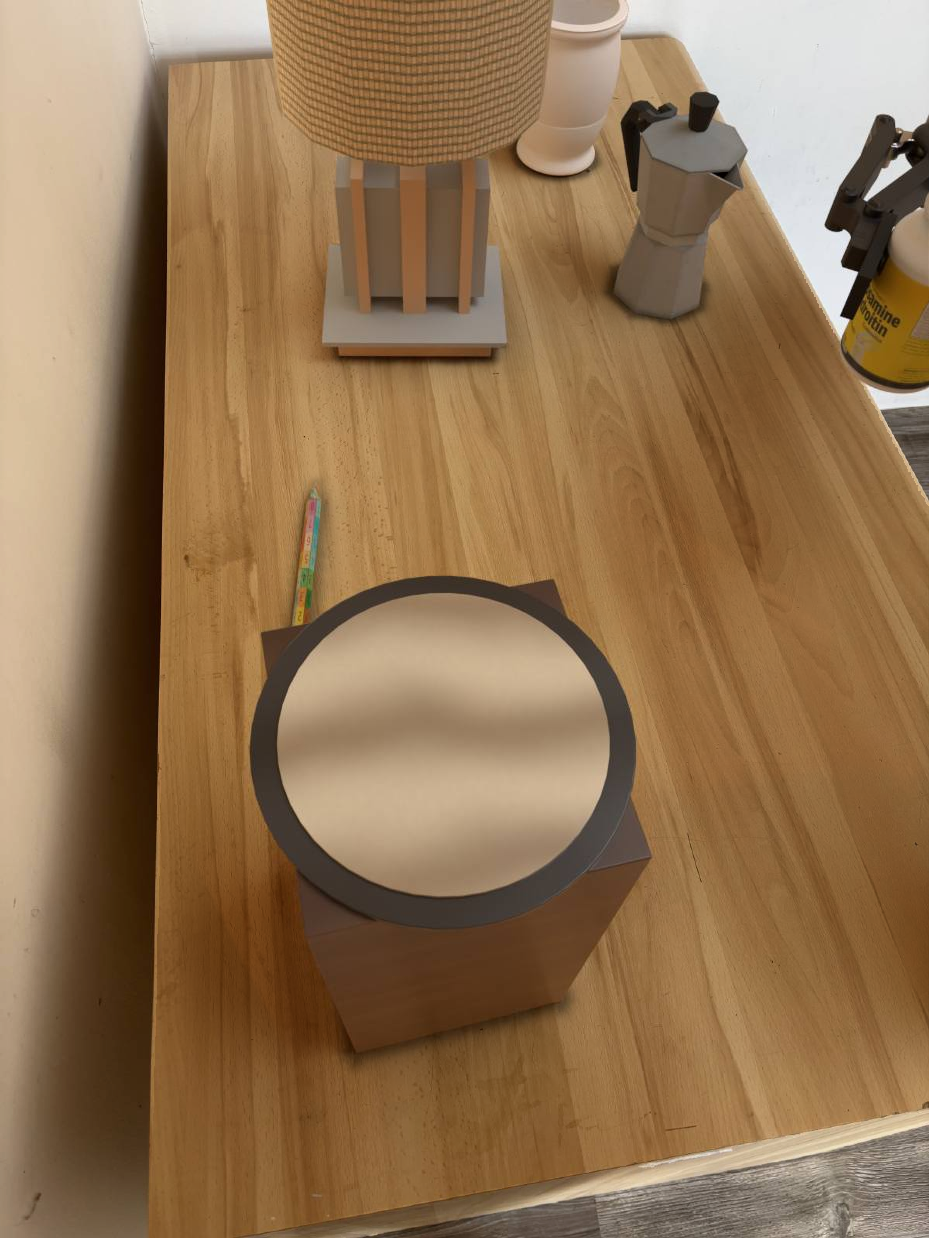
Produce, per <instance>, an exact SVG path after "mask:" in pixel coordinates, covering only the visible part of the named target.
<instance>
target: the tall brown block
mask: <svg viewBox="0 0 929 1238" xmlns="http://www.w3.org/2000/svg"><path fill="white" fill-rule="evenodd" d="M260 639H261V645H262V653H263V661H264V667H265V674H266V679H265V681H264V684H263V687H262V688H261V692H260V694H259V697H258V699H257V702H256V706H255V710H254V714H253V718H252V721H251V728H250V729H251V730H250V736H249V737H250V739H249V749H248V751H249V766H250V775H251V780H252V786H253V792H254V796H255V799H256V801H257V804H258V808H259V810H260V812H261V815H262V818H263V820H264V823H265V825H266V827H267V830H268V831H269V832H270V834H271V836H272V838H273V840H274V842H275V843H276V845H277V846H278V848H279V849H280V851H281V852H282V853H283V855H284V856H285V857H286V858H287V860H288V862H290V864H291V866H293V868H294V871H295V878H296V885H297V893H298V898H299V899H298V900H299V906H300V913H301V920H302V926H303V934H304V939H305V941H306V943H307V945H308V948H309V949H310V952H311V955H312V957H313V959H314V961H315V963H316V965H317V968H318V969H319V972H320V974H321V977H322V979H323V981H324V984H325V985H326V988H327V990H328V992H329V994H330V997H331V999H332V1002H333V1004H334V1006H335V1009H336V1011H337V1012H338V1015H339V1017H340V1019H341V1021H342V1024H343V1026H344V1029H345V1030H346V1033H347V1035H348V1037H349V1039H350V1042H351V1045H352V1046H353V1049H354V1050H355V1053H356V1054H360V1053H364V1052H368V1051H372V1050H376V1049H380V1048H383V1047H389V1046H392V1045H396V1044H399V1043H400V1044H401V1043H403V1042H408V1041H411V1040H416V1039H419V1038H423V1037H426V1036H427V1037H428V1036H431V1035H435V1034H439V1033H443V1032H447V1031H451V1030H454V1029H459V1028H462V1027H466V1026H470V1025H474V1024H479V1023H482V1022H487V1021H491V1020H494V1019H497V1018H501V1017H506V1016H510V1015H514V1014H517V1013H522V1012H525V1011H529V1010H533V1009H537V1008H541V1007H545V1006H550V1005H552V1004H557V1003H561V1002H562V1001H563V999H564V997H565V995H566V994H567V992H568V991H569V989H570V988H571V986H572V985H573V983H574V982H575V980H576V979H577V978H578V975H579V973H580V972H581V971H582V969H583V967H584V965H585V964H586V962H587V961H588V960H589V957H591V954H592V953H593V951H594V950H595V948H596V947H597V945H598V943H599V942H600V941H601V939H602V937H603V936H604V934H605V933H606V932H607V930H608V928H609V926H610V924H611V922H612V921H613V920H614V918H615V917H616V915H617V914H618V912H619V911H620V909H621V908H622V906H623V904H624V903H625V901H626V899H627V898H628V896H629V894H630V893H631V891H632V890H633V888H634V887H635V885H636V884H637V883H638V880H639V879H640V878H641V876H642V874H643V872H644V870H646V868H647V866H648V865H649V863H650V862H651V860H652V858H653V856H652V852H651V849H650V846H649V844H648V841H647V837H646V835H645V833H644V830H643V827H642V824H641V821H640V819H639V815H638V813H637V810H636V808H635V805H634V801H633V798H632V796H631V795H632V792H633V788H634V783H635V773H636V767H637V737H636V732H635V731H636V730H635V726H634V719H633V718H634V717H633V714H632V711H631V708H630V704H629V701H628V698H627V696H626V693H625V690H624V688H623V686H622V684H621V681H620V679H619V677H618V675H617V673H616V672H615V670H614V669H613V667H612V665H611V664H610V662H609V661H608V659H607V657H606V656H605V655H604V653H603V652H602V651H601V649H600V648H599V647H598V646H597V644H596V643H595V642H594V641H593V640H592V638H591V637H590V636H589V635H587V634H586V632H585V631H583V630H582V628H580V627H579V625H577V624H576V623H575V622H573V621H572V620H571V619H570V618H568V615H567V612H566V609H565V607H564V604H563V601H562V598H561V595H560V592H559V590H558V587H557V584H556V581H555V579H554V578H550V579H544V580H540V581H534V582H529V583H521V584H517V585H512V586H508V585H506V584H502V583H499V582H496V581H491V580H486V579H482V578H477V577H471V576H459V575H424V576H415V577H408V578H407V577H406V578H402V579H398V580H393V581H390V582H386V583H385V582H384V583H381V584H379V585H376V586H373V587H371V588H368V589H365V590H362V591H359V592H357V593H356V594H354V595H352V596H350V597H347V598H345V599H343V600H341V601H339V602H338V603H336V604H335V605H333V606H332V607H330V608H329V609H327V610H325V611H323V613H321V614H320V615H318V617H316V618H315V619H314V620H313V621H312V622H308V623H307V624H302V625H296V626H292V625H291V626H286V627H281V628H274V629H268V630H264V631H260Z"/></svg>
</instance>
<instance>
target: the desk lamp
mask: <svg viewBox="0 0 929 1238" xmlns="http://www.w3.org/2000/svg"><path fill="white" fill-rule="evenodd" d="M553 3H554V0H265V4H266V11H267V12H266V13H267V19H268V26H269V34H270V42H271V49H272V56H273V57H272V58H273V64H274V71H275V72H274V73H275V79H276V86H277V87H276V88H277V91H278V96H279V100H280V104H281V108H282V113H283V116H284V117H285V119H287V120H288V121H289V122H290V123H291V124H292V125H293V126H294V127H296V129H298V130H299V131H300V132H301V133H302V134H303V135H304V136H305V137H306V138H307V139H308V140H309V141H310V142H311V143H314V144H317V145H319V146H321V147H324V148H326V149H329V150H331V151H334V152H336V153H339V154H340V155H343V156H336V165H335V166H336V167H335V181H334V190H335V191H334V192H335V202H336V215H337V226H338V237H339V243H329V244H328V249H327V265H326V279H325V280H326V281H325V293H324V307H323V320H322V337H321V347H322V348H338V349H337V350H338V357H339V356H340V357H491V356H492V348H495V349H496V348H505V349H507V348H508V339H507V328H506V315H505V314H506V313H505V302H504V292H503V279H502V278H503V277H502V267H501V256H500V245H488V235H489V233H488V232H489V221H490V220H489V219H490V217H489V216H490V201H491V180H490V179H491V178H490V167H489V166H490V165H489V158H482V156H485V155H488V154H489V153H493V152H495V151H497V150H500V149H503V148H505V147H508V146H511V145H513V144H514V143H515V142H516V141H517V140H519V139H520V137H521V135H522V134H523V133H524V132H525V131H526V130H527V129H528V128H529V127H531V126H532V125H533V124H534V123H535V122H536V121H537V120H538V118H539V113H540V109H541V104H542V99H543V95H544V89H545V79H546V70H547V60H548V51H549V41H550V32H551V22H552V12H553ZM480 157H481V158H480Z"/></svg>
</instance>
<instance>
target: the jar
mask: <svg viewBox="0 0 929 1238" xmlns="http://www.w3.org/2000/svg"><path fill="white" fill-rule="evenodd" d="M629 12H630V6H629V3H628V1H627V0H554V3H553V12H552V22H551V32H550V41H549V51H548V60H547V70H546V79H545V89H544V95H543V99H542V104H541V109H540V113H539V118H538V120H537V121H536V122H535V123H534V124H533V125H532V126H531V127H529V128H528V129H527V130H526V131H525V132H524V133H523V134H522V135H521V136H520V137H519V138H518V141H517V144H516V154H517V157H518V158H519V160H520V161H521V162H522V163H523V164H524V165H525V166H527V167H528V168H530V169H531V170H533V171H536V172H538V173H542V174H545V175H549V176H560V177H561V176H571V175H575V174H579V173H581V172H583V171H585V170H586V169H588V168H589V167H590V166H591V165H592V164H593V162H594V160H595V157H596V152H595V146H594V144H595V143H596V140H598V137H599V136H600V134H601V132H602V130H603V127H604V125H605V122H606V119H607V115H608V112H609V109H610V106H611V104H612V100H613V98H614V94H615V91H616V86H617V83H618V79H619V78H618V77H619V73H620V65H621V55H622V54H621V52H622V37H621V36H622V35H621V30H622V29H623V28H624V27H625V25H626V23H627V21H628V17H629Z"/></svg>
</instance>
